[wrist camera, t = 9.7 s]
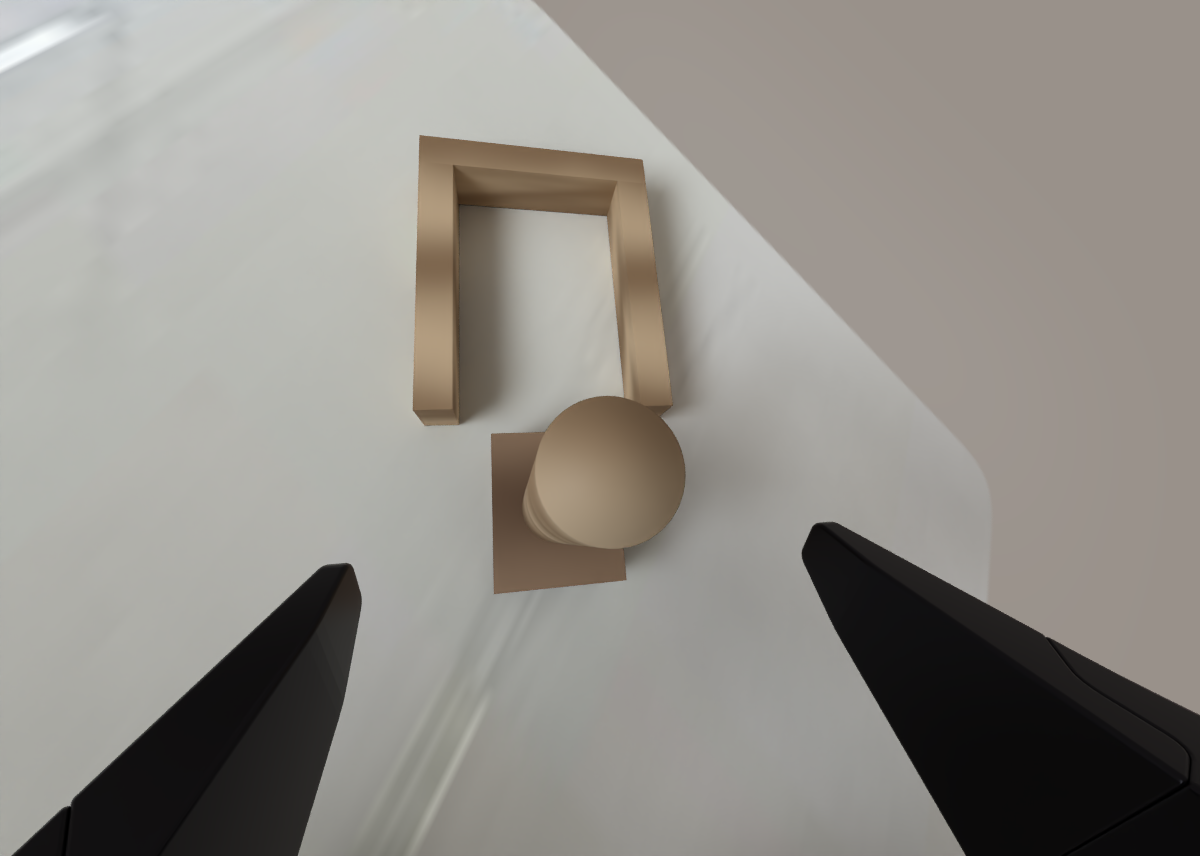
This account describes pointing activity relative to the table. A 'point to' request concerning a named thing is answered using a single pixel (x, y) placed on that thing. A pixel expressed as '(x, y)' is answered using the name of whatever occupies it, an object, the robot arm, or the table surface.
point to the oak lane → (545, 186)
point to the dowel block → (581, 494)
